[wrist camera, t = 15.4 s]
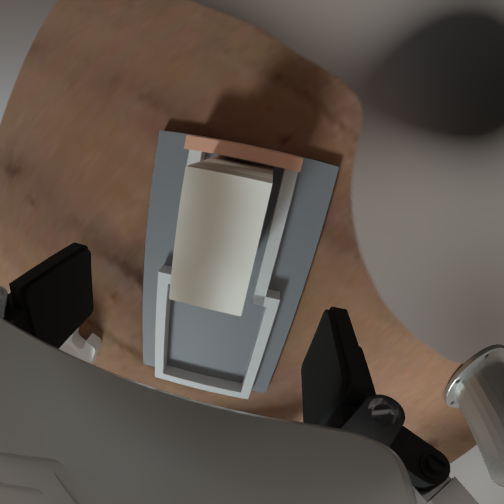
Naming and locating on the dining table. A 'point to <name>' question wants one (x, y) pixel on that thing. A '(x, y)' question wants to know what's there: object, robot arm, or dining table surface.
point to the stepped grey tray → (261, 281)
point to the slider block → (218, 232)
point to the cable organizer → (82, 346)
